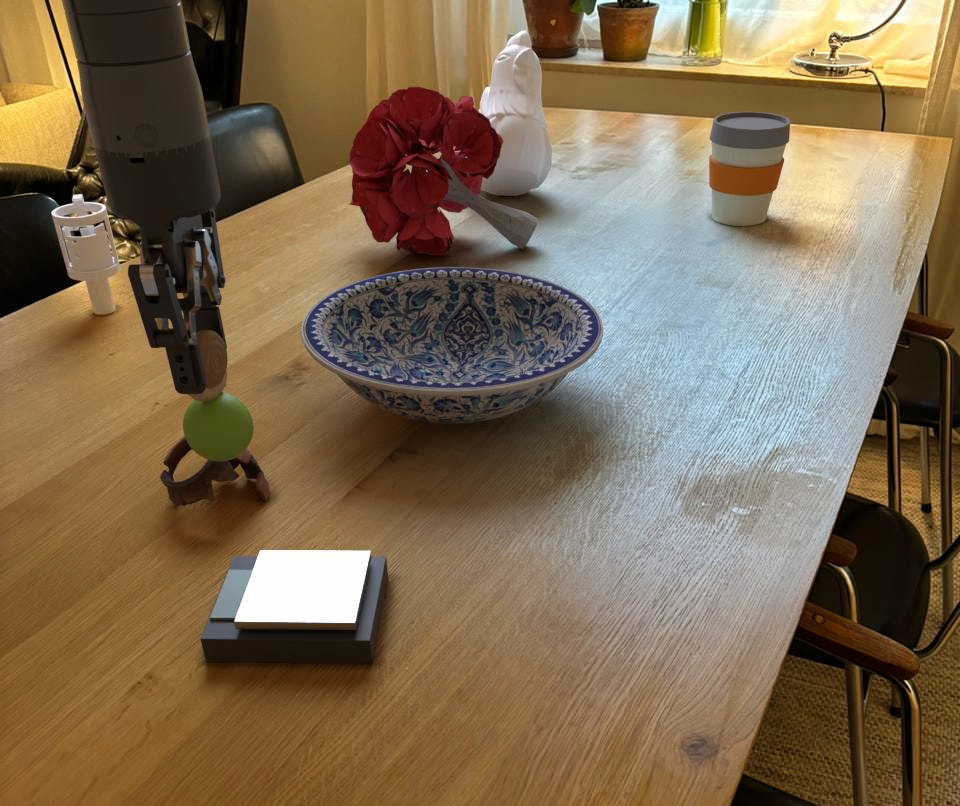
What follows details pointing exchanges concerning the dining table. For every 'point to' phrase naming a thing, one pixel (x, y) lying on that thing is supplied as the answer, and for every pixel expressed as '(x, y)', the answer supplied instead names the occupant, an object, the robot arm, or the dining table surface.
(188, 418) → the snail figurine
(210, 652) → the scale
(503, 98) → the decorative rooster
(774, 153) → the reusable coffee cup
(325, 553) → the scale platter
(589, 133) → the dining table surface
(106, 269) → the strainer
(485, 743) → the dining table surface
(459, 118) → the bouquet
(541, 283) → the ceramic bowl
